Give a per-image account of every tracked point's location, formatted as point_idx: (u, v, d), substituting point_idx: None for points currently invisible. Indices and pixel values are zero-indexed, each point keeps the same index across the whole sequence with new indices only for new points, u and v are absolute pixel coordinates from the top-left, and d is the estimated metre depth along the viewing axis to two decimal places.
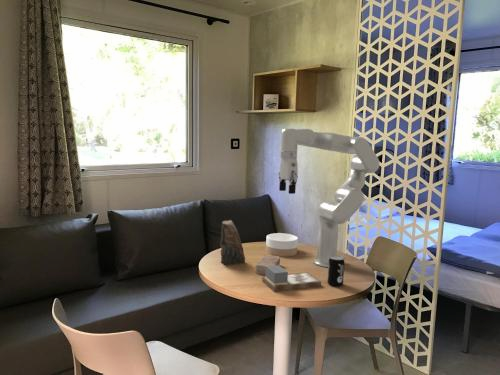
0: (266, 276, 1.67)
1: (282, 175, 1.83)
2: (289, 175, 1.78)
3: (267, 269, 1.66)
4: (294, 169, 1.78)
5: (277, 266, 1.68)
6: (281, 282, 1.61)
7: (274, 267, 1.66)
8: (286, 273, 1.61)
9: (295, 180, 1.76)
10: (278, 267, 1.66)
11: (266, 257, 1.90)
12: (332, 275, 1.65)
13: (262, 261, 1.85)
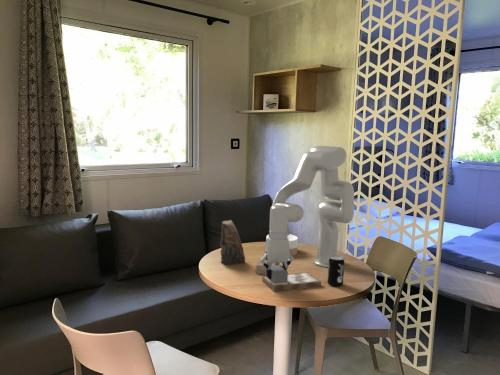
0: (266, 276, 1.67)
1: (276, 259, 1.61)
2: (289, 256, 1.64)
3: None
4: None
5: (277, 266, 1.68)
6: (281, 282, 1.61)
7: (274, 267, 1.66)
8: (286, 273, 1.61)
9: None
10: (278, 267, 1.66)
11: None
12: (332, 275, 1.65)
13: None
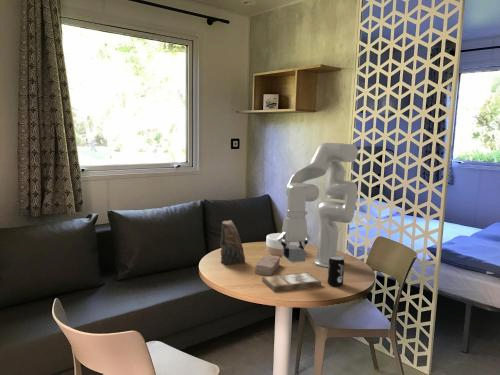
0: (283, 255, 1.68)
1: (294, 238, 1.63)
2: (306, 235, 1.66)
3: None
4: None
5: (294, 245, 1.70)
6: (299, 261, 1.62)
7: (291, 246, 1.68)
8: (304, 252, 1.63)
9: None
10: (295, 247, 1.68)
11: (266, 257, 1.90)
12: (332, 275, 1.65)
13: (262, 261, 1.85)
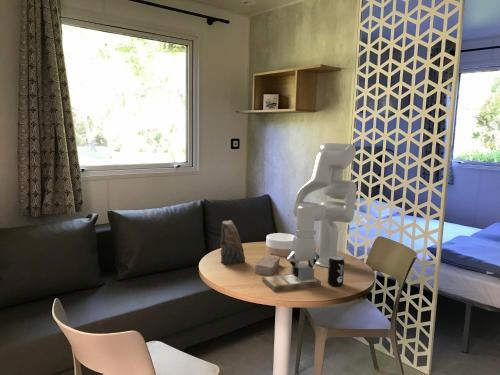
0: (292, 274, 1.71)
1: (303, 257, 1.66)
2: None
3: None
4: None
5: (303, 263, 1.73)
6: (308, 279, 1.65)
7: (300, 265, 1.71)
8: (312, 271, 1.65)
9: None
10: (304, 265, 1.71)
11: (266, 257, 1.91)
12: (332, 275, 1.65)
13: (261, 261, 1.85)
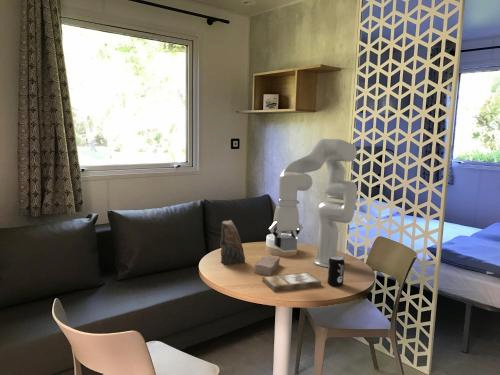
0: (275, 245, 1.66)
1: (286, 227, 1.61)
2: (298, 224, 1.63)
3: None
4: None
5: (286, 234, 1.68)
6: (290, 249, 1.60)
7: (283, 235, 1.66)
8: (295, 240, 1.61)
9: None
10: (287, 235, 1.66)
11: (265, 257, 1.91)
12: (332, 275, 1.65)
13: (261, 261, 1.85)
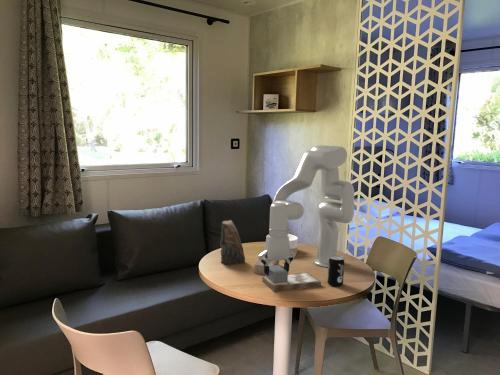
0: (266, 276, 1.67)
1: (277, 256, 1.61)
2: (289, 253, 1.64)
3: None
4: None
5: (277, 266, 1.68)
6: (281, 282, 1.61)
7: (274, 267, 1.66)
8: (286, 273, 1.61)
9: None
10: (278, 267, 1.66)
11: None
12: (332, 275, 1.65)
13: None
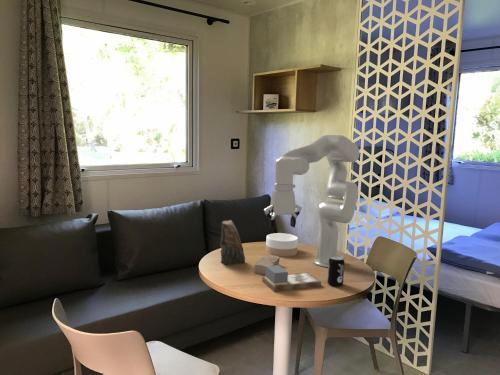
0: (266, 276, 1.67)
1: (283, 211, 1.63)
2: None
3: (267, 269, 1.66)
4: None
5: (277, 266, 1.68)
6: (281, 282, 1.61)
7: (274, 267, 1.66)
8: (286, 273, 1.61)
9: None
10: (278, 267, 1.66)
11: (265, 257, 1.91)
12: (332, 275, 1.65)
13: (261, 261, 1.85)
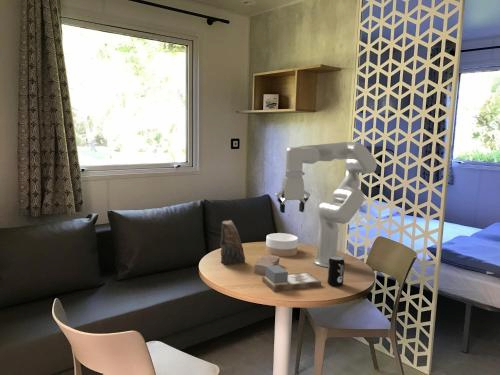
0: (266, 276, 1.67)
1: (292, 196, 1.76)
2: None
3: (267, 269, 1.66)
4: None
5: (277, 266, 1.68)
6: (281, 282, 1.61)
7: (274, 267, 1.66)
8: (286, 273, 1.61)
9: None
10: (278, 267, 1.66)
11: (265, 257, 1.91)
12: (332, 275, 1.65)
13: (261, 260, 1.85)
